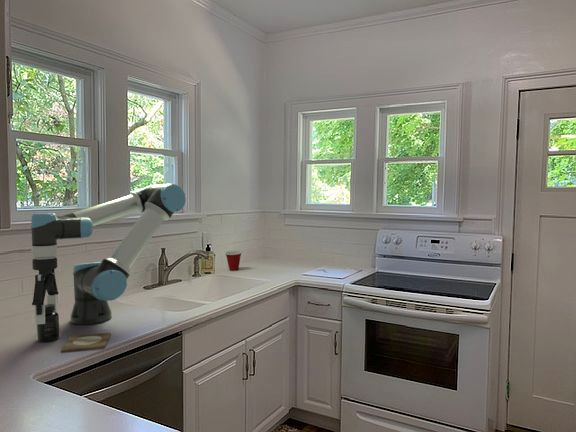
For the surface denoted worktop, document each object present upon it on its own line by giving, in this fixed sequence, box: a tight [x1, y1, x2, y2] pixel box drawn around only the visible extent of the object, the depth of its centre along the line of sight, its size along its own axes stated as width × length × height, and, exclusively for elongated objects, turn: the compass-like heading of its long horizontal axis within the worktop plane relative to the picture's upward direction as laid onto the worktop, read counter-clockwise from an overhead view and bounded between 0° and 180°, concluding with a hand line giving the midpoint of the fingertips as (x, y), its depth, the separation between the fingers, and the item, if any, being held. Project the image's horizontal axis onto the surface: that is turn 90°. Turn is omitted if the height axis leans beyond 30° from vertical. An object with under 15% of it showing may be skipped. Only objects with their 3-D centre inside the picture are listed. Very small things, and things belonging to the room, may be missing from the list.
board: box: [60, 332, 112, 353], centre depth 148 cm, size 14×13×1 cm
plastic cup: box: [224, 250, 242, 272], centre depth 283 cm, size 11×11×12 cm
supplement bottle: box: [36, 303, 60, 343], centre depth 152 cm, size 7×7×12 cm
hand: (46, 318), depth 152 cm, fingers open, 13 cm apart
